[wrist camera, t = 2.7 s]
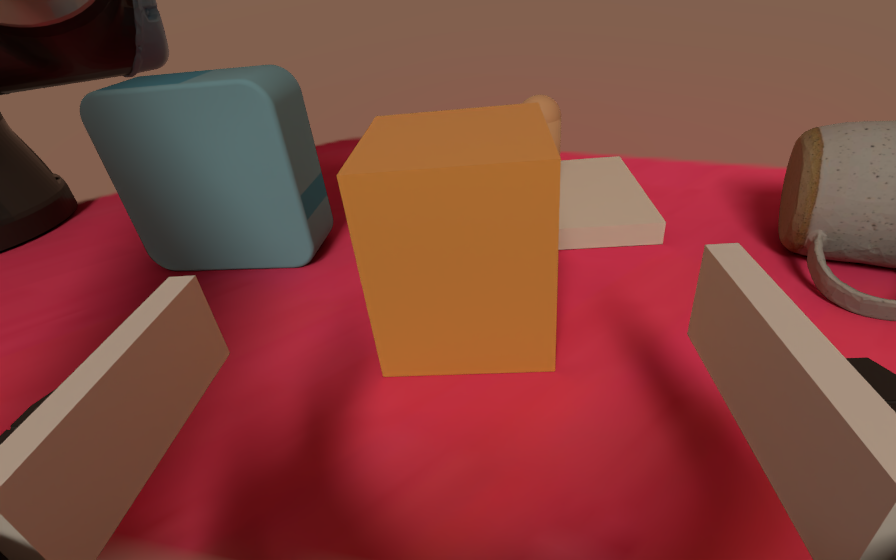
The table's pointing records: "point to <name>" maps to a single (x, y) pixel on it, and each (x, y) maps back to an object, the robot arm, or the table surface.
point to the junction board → (600, 198)
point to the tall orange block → (457, 239)
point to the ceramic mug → (843, 206)
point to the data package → (214, 167)
